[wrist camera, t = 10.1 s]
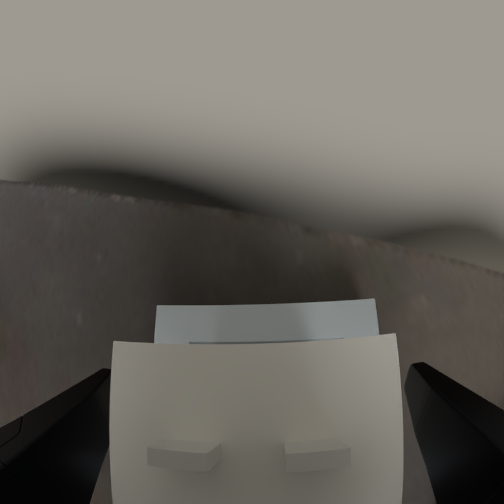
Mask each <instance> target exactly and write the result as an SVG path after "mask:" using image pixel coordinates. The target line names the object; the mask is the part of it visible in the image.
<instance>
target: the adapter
mask: <svg viewBox="0 0 504 504" xmlns="http://www.w3.org/2000/svg"><path fill="white" fill-rule="evenodd" d="M109 432H110V471H111V488H112V500H113V504H402V489H403V413H402V394H401V380H400V368H399V358H398V349H397V340H396V333H393V334H385V335H376V336H367V337H357V338H346V339H335V340H321V341H307V342H289V343H265V344H162V343H139V342H121V341H113V353H112V367H111V385H110V425H109Z"/></svg>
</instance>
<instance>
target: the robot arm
mask: <svg viewBox="0 0 504 504" xmlns="http://www.w3.org/2000/svg"><path fill="white" fill-rule="evenodd" d="M110 385H111V369H107V368H103V369H101V370H99V371H98V372H96V373H94V374H93V375H91V376H89V377H88V378H86V379H84V380H83V381H81V382H79V383H77V384H76V385H74V386H72V387H71V388H69V389H67V390H66V391H64V392H62V393H61V394H59V395H57V396H55V397H54V398H52V399H50V400H49V401H47V402H45V403H43V404H42V405H40V406H38V407H37V408H35V409H33V410H31V411H30V412H28V413H26V414H24V415H23V416H21V417H19V418H17V419H16V420H14V421H12V422H10V423H8V424H7V425H5V426H3V427H1V428H0V504H90V500H91V497H92V494H93V491H94V488H95V485H96V482H97V479H98V476H99V473H100V470H101V467H102V464H103V461H104V459H105V456H106V453H107V450H108V447H109V444H110V432H109V425H110ZM404 388H405V394H406V398H407V402H408V406H409V411H410V415H411V420H412V424H413V428H414V432H415V435H416V438H417V441H418V444H419V447H420V450H421V453H422V456H423V459H424V462H425V465H426V469H427V472H428V475H429V478H430V482H431V485H432V489H433V492H434V495H435V499H436V503H437V504H504V411H503V409H501V408H499V407H498V406H496V405H494V404H493V403H491V402H489V401H488V400H486V399H484V398H483V397H481V396H479V395H478V394H476V393H474V392H473V391H471V390H469V389H468V388H466V387H464V386H463V385H461V384H459V383H458V382H456V381H454V380H453V379H451V378H449V377H448V376H446V375H444V374H443V373H441V372H439V371H438V370H436V369H434V368H433V367H431V366H429V365H428V364H426V363H424V362H418V363H413V364H411V365H410V367H409V371H408V374H407V378H406V381H405V386H404Z"/></svg>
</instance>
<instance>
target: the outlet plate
mask: <svg viewBox="0 0 504 504" xmlns="http://www.w3.org/2000/svg"><path fill="white" fill-rule="evenodd" d="M376 335H379V329H378V320H377V312H376V304H375V299H362V300H346V301H329V302H310V303H287V304H257V305H157V311H156V323H155V336H154V343H162V344H265V343H289V342H307V341H321V340H335V339H346V338H357V337H367V336H376Z"/></svg>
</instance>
